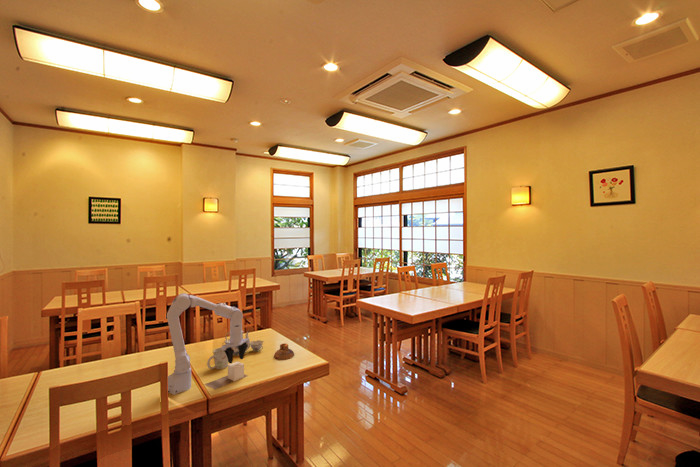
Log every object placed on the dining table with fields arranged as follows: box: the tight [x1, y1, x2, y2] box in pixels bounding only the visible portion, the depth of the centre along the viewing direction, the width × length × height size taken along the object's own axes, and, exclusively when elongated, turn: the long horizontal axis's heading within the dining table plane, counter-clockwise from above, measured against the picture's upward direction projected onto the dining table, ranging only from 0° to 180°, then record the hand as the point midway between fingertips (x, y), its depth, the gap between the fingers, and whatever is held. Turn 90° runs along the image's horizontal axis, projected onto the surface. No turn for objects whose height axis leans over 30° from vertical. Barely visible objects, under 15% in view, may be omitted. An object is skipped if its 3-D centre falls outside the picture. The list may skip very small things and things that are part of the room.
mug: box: [206, 347, 229, 370], centre depth 171 cm, size 8×13×10 cm, turn 149°
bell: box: [273, 343, 295, 360], centre depth 191 cm, size 12×12×7 cm
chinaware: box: [223, 329, 265, 357], centre depth 199 cm, size 28×17×17 cm, turn 84°
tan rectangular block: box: [227, 361, 245, 382], centre depth 159 cm, size 5×5×7 cm
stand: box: [204, 373, 248, 390], centre depth 156 cm, size 18×9×1 cm, turn 145°
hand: (235, 360), depth 159 cm, fingers open, 6 cm apart
